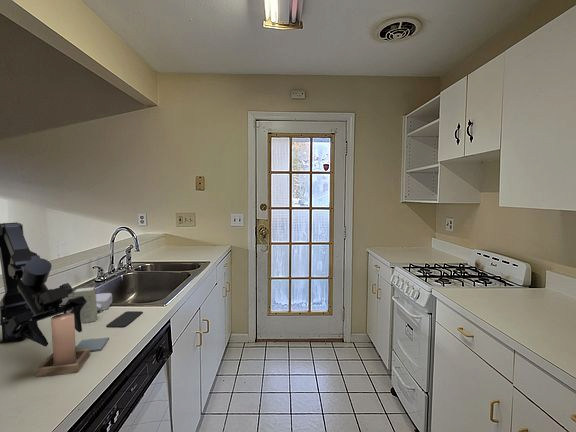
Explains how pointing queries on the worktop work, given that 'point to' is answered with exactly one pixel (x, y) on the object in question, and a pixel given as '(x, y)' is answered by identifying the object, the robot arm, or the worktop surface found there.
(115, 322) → the phone
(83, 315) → the skincare box
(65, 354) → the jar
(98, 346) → the mat
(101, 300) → the charger
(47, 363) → the holder
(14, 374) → the worktop surface
